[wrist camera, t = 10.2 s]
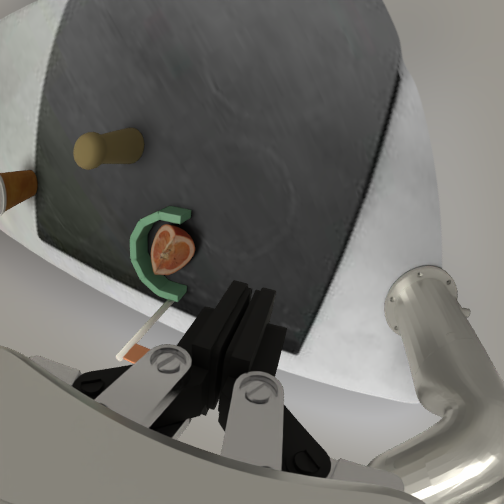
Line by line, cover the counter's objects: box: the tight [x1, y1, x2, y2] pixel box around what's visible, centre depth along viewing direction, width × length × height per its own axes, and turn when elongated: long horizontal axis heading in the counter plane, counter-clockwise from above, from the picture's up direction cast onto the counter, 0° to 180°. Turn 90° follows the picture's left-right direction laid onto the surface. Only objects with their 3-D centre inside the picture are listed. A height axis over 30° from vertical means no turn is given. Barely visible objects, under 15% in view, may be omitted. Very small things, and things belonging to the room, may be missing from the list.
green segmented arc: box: [116, 206, 191, 364], centre depth 38 cm, size 12×16×18 cm
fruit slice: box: [151, 224, 195, 275], centre depth 43 cm, size 8×7×5 cm
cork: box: [74, 128, 144, 170], centre depth 36 cm, size 6×6×11 cm
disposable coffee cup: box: [0, 170, 37, 216], centre depth 44 cm, size 10×10×12 cm
